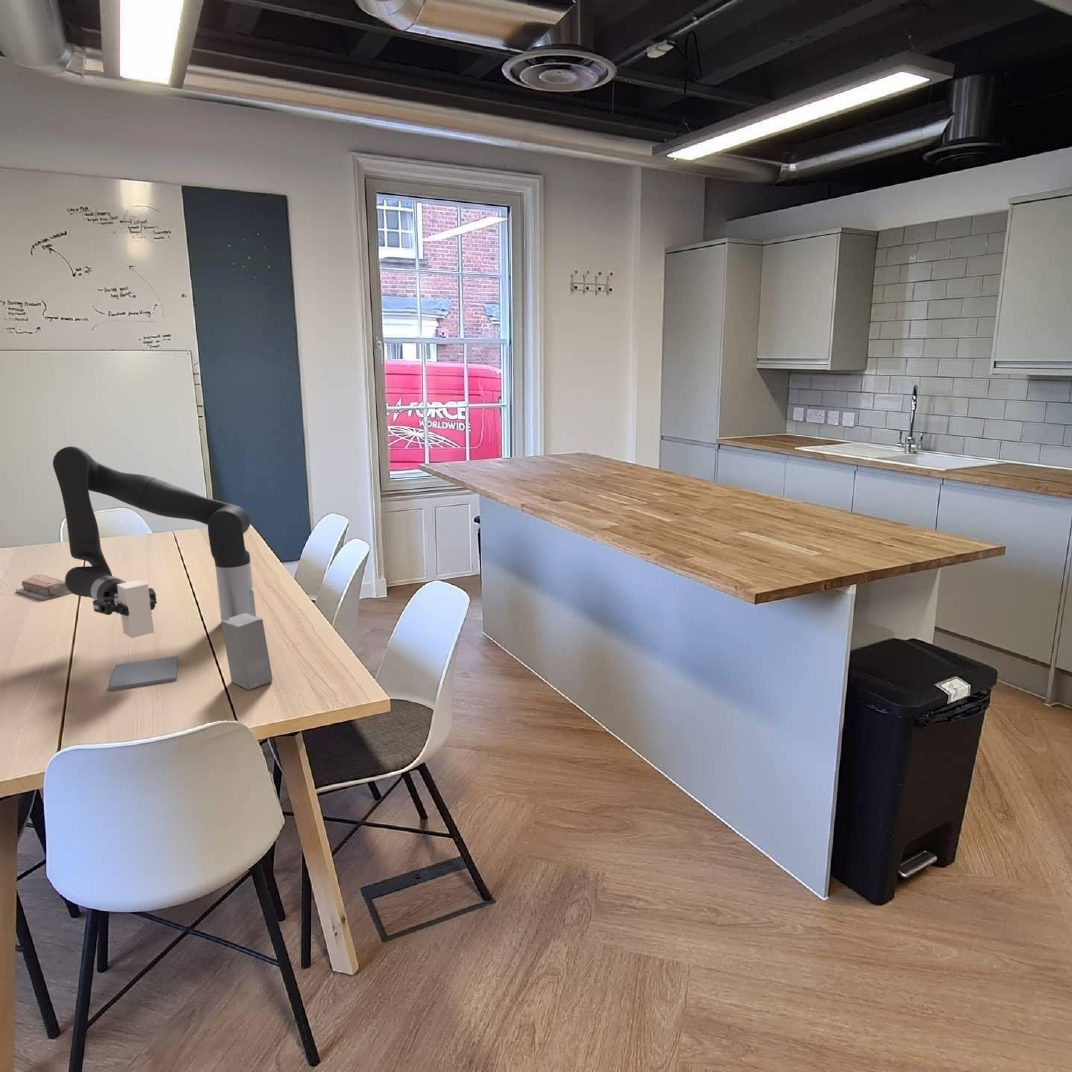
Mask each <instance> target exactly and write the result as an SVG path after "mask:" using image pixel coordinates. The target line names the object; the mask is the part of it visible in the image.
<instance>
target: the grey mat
mask: <svg viewBox="0 0 1072 1072" xmlns="http://www.w3.org/2000/svg"><path fill="white" fill-rule="evenodd" d="M179 660H180V659H179V655H175V656H167V657H162V658H154V659H148V660H147V659H146V660H140V661H132V662H125V663H120V664H115V665H114V668H113V672H112V674H111V678H110V682H109V684H108V691H109V692H110V691H111V692H112V691H116V690H117V691H118V690H123V689H129V688H135V687H136V688H137V687H142V686H148V685H150V686H151V685H156V684H161V683H167V682H176V681H177V677H178V668H179Z"/></svg>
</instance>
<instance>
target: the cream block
mask: <svg viewBox="0 0 1072 1072" xmlns="http://www.w3.org/2000/svg"><path fill="white" fill-rule="evenodd" d="M125 582H126V583H121V584H117V588H118V596H119V602H120V604H121V603H122V604H124V605H126V606H127V607H128V610H129V615H128V616H124V615H121V614H120V617H121V623H122V631H123V633H124V634H125V636H128V637H129V638H131V639H134V638H138V637H141V636H145V635H150V634H153V633H155V630H154V621H153V614H152V610H151V606H150V596H149V583H146V582H145V581H142V579H137V580H131V581H125Z"/></svg>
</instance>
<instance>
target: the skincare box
mask: <svg viewBox="0 0 1072 1072" xmlns="http://www.w3.org/2000/svg"><path fill="white" fill-rule="evenodd" d="M220 620H221V619H220ZM263 620H264V619H263V618H260V617H258V616H256V617H255V616H253V615H250V614H248V613H243V614H240V615H237V616H234V617H231V618H227V619H224V620H221V621H220V624H221V629H222V635H223V640H224V646H225V653H226V658H227V662H228V667H229V675H230V681H231V682H232V683H234V684H236V685H238V686H240V687H242V688H244V689H246V690H248V691H251V690H253V689H255V688H258V687H260V686H264V685H266V684H269V683H273V680H274V679H273V673H272V667H271V661H270V657H269V656H270V655H269V650H268V644H267V639H266V634H265V633H266V631H265V627H264V621H263Z"/></svg>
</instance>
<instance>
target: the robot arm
mask: <svg viewBox="0 0 1072 1072" xmlns="http://www.w3.org/2000/svg"><path fill="white" fill-rule="evenodd" d="M52 466H53V471H54V473H55V475H56V476H55V477H56V480H57V482H58V485H59V488H60V489H59V490H60V492H61V496H62V501H63V507H64V512H65V513H64V514H65V518H66V525H67V528H66V529H67V535H68V544H69V551H70V555H71V557H72V558H73V559H76V560H80V561H85V562H88V563H89V564H90V566H87V565H86V566H85V565H84V566H75V567H72V568H70V569H69V570H68V571H67V572H66V574H65V577H64V581H65V584H66V587H67V588H68V590H69V591H70V592H71V593H72V594H73V595H75V596H79V597H84V598H90V599H93V600H92V607H93V612H95V613H99V614H103V615H107V616H111V615H113V613H115V614H119V615H120V616H121V615H124V616H128V615H129V610H128V607H127V606H126V605H124V604H122V603H121V604H120V602H119V596H118V588H117V584H121V583H126V582H127V581H125V580H123V579H121V578H120V577H117V576H113V573H112V571H111V568H110V567H109V564H108V562H107V560H106V559H105V556H104V553H103V551H102V547H101V538H100V531H99V525H98V522H97V518H96V515H95V511H94V508H93V506H92V502H91V497H90V492H95V493H99V494H101V495H105V496H109V497H111V498H113V499H116V500H118V501H120V502H123V503H125V504H127V505H130V506H133V507H135V508H137V509H140V510H143V511H145V512H148V513H151V514H153V515H157V516H161V517H166V518H173V519H180V520H181V519H182V520H191V521H195V522H199V523H202V524H204V525H207V534H208V541H209V547H210V553H211V556H212V558H213V559H214V567H215V573H216V582H217V583H216V585H217V593H218V594H217V595H218V601H219V610H220V611H219V613H220V620H224V619H227V618H231V617H234V616H237V615H240V614H243V613H248V614H250V615H253V616H255V617H257V613H256V604H255V603H256V601H255V593H254V585H253V576H252V566H251V556H250V552H249V551H248V550H247V549H246V546H245V545H246V544H245V538H244V534H245V533H246V532H247V531H248V529H249V527H251V518H250V516H249V514H248V512H247V511H246V510H245V509H244V508H243V507H240V506H238V505H236V504H232V503H229V502H223V501H222V500H221V501H220V500H218V499H217V500H216V499H213V498H208V497H205V496H202V495H200V494H198V493H195V492H192V491H190V490H187V489H185V488H182V487H180V486H177V485H174V484H172V483H169V482H167V481H163V480H162V479H158V478H156V477H152V476H149V475H143V474H138V473H137V474H136V473H127V472H121V471H118V470H116V469H113V468H111V467H109V466H107V465H104V464H102V463H100V462H97V460H95V459H93V458H92V457H91V456H90V455H89V453H88V452H86V451H85V450H83V449H82V448H81V447H77V446H72V445H71V446H66V447H63V448H61V449H60V450H58V451H57V452H56V453H55V455H54V456H53V458H52ZM89 491H90V492H89ZM148 589H149V596H150V606H151V611H153V610H155V608H156V604H158V601H157V593H156V591H155V590H154V588H152V587H148Z"/></svg>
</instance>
